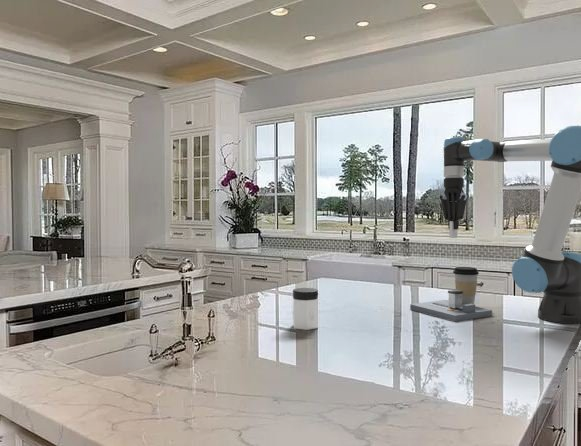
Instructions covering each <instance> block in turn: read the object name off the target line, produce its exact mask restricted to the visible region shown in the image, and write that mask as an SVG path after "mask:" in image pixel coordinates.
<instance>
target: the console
mask: <svg viewBox="0 0 581 446" xmlns="http://www.w3.org/2000/svg"><path fill="white" fill-rule="evenodd" d="M409 310H411V311H415V312H417V313H418V312H419V313H421V314H426V315H430V316H433V317H435V318H436V317H437V318H440V319H444V320H449V321H452V322H460V321H462V322H463V321H466V320H473V319H479V318H486V317H491V316H493V310H492V309H489V308H485V307H479V306H476V304H475V303H474V304H462V307H460V308H452V307H449V299H440V300H434V301H425V302H416V303H410V309H409Z"/></svg>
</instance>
